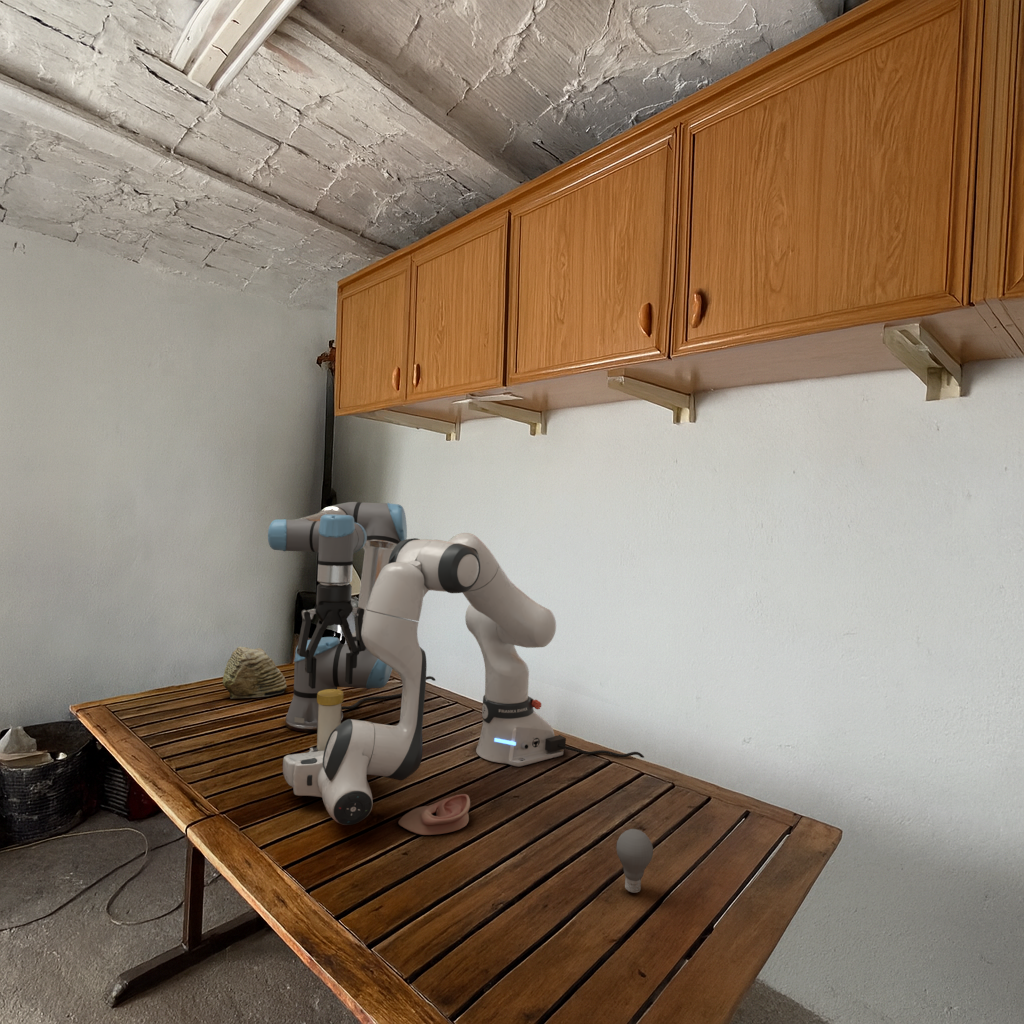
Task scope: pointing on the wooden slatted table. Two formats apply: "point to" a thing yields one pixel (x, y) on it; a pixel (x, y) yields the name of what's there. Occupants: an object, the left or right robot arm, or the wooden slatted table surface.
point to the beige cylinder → (327, 723)
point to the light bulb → (634, 857)
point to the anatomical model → (438, 816)
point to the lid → (330, 697)
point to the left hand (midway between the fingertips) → (330, 684)
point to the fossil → (252, 674)
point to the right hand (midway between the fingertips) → (327, 748)
